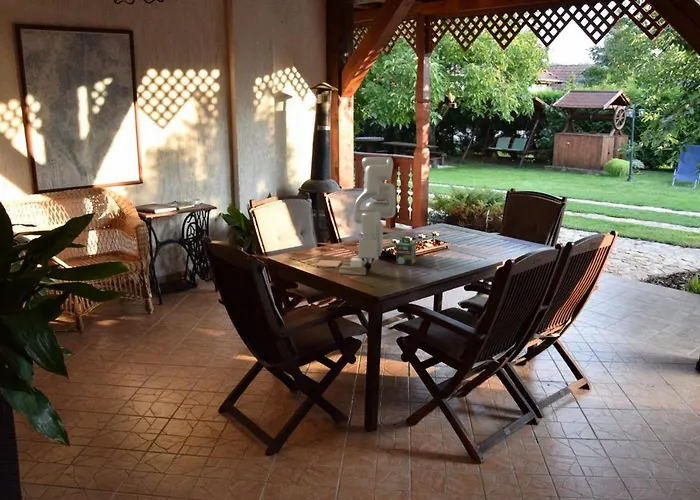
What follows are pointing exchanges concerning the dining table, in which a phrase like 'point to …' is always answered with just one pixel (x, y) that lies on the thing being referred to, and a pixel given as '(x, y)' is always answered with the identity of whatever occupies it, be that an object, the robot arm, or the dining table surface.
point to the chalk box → (406, 252)
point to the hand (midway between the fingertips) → (368, 269)
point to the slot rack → (352, 269)
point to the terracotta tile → (328, 263)
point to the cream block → (356, 262)
